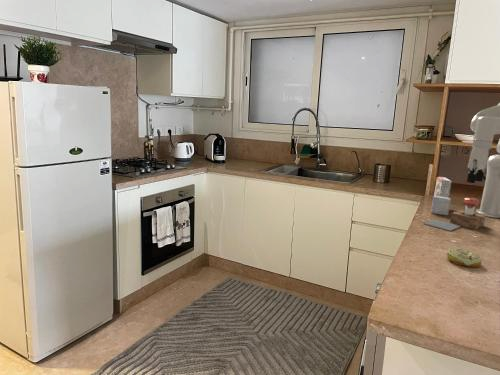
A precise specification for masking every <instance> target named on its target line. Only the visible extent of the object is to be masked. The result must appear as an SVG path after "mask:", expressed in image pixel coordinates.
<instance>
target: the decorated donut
mask: <svg viewBox="0 0 500 375" xmlns="http://www.w3.org/2000/svg"><path fill="white" fill-rule="evenodd" d="M446 256H447V258H448V260H449V261H450V262H452V263H453V264H455V265H457V264H458V266H461V265H462V266H463V267H466V266H467V268H479V267H480V266H481V265H482V261H483V258H482V257H481V256H480V255H479V254H478V253H476V252H473V251H471V250H468V249H465V248H457V247H456V248H454V247H453V248H449V249H448V250H447V252H446Z"/></svg>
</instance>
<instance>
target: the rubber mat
mask: <svg viewBox="0 0 500 375" xmlns="http://www.w3.org/2000/svg"><path fill="white" fill-rule="evenodd" d="M423 225H425V226H429V227H433V228H437V229H440V230H443V231H447V232H452V231H455V230H457V229H460V228H462V226H460V225H456V224H452V223H450V222H447V221H444V220H440V219H436V218H434V219H431V220H428V221H425V222H423Z"/></svg>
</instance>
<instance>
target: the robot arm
mask: <svg viewBox="0 0 500 375" xmlns="http://www.w3.org/2000/svg"><path fill="white" fill-rule="evenodd" d="M470 130H471V131H472V132H474V134H473V140H472V145H471V151H470V154H469V160H468V163H467V168H468V170H469V171H468V172H467V173H468V174H467V180H466V182H467V183H470V184H475V183H476V182H483V180H484V175H485V172H486V177H485V180H484V181H485V182H484V187H483V191H482V197H481V200H480V201H481V202H480V206H479V208H478V209H476V211H475V213H477V214H481V215H485V216H486V217H488V218H493V219H495V218H496V219H500V138H499V139H498V143H497V145H496V152H497V153H498V154H493V155H490V156H489V153H490V150H491V149H492V145H493V142H494V137H495V135H500V102H499V103H498V104H497V105H494V106H491V107H488V108H487V107H486V108H484V109H482V110H480V111H479V112H477V113H476V114H475V115H474V116H473V118H472V119H471V122H470ZM485 169H486V171H485Z"/></svg>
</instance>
